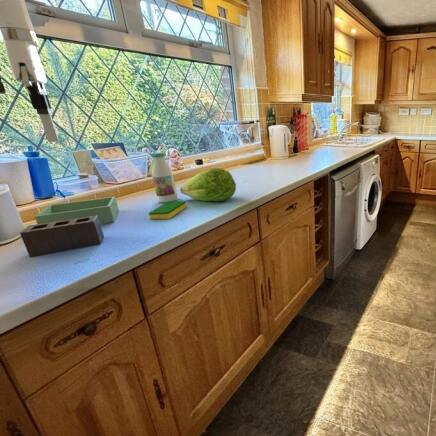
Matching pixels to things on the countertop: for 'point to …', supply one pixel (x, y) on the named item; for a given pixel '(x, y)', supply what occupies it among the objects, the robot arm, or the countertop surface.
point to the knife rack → (62, 235)
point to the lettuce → (210, 185)
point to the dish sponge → (167, 210)
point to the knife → (48, 122)
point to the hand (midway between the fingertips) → (42, 108)
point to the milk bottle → (163, 179)
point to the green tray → (80, 210)
